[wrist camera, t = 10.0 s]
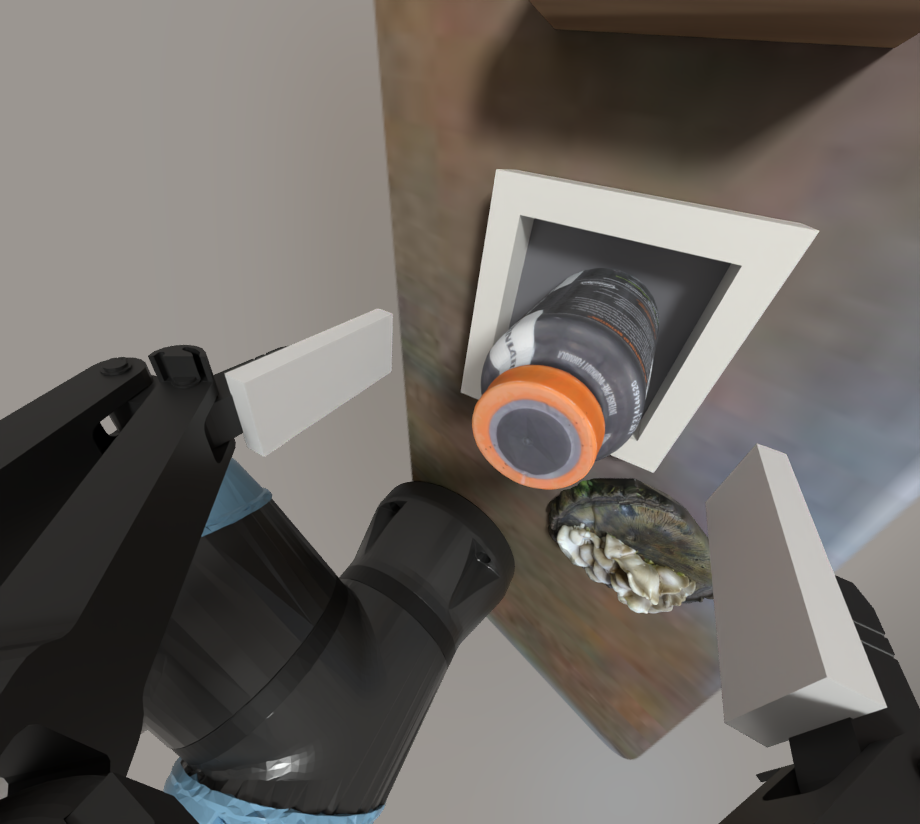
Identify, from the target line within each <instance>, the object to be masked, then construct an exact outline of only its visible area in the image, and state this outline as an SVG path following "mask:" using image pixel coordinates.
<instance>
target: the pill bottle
mask: <svg viewBox="0 0 920 824" xmlns="http://www.w3.org/2000/svg"><path fill="white" fill-rule="evenodd" d="M658 331H659V313H658V309H657V306H656V302H655V300H654V297H653V296H652V294H651V293H650V291H649V290H648V289H647V288H646V286H645V285H644V284H643V283H642V282H640V281H639V280H638V279H637V278H636V277H634V276H633V275H630V274H627V273H625V272H622V271H620V270H616V269H609V268H593V269H587V270H584V271H581V272H579V273H576V274H574V275H572V276H570V277H569V278H567V279H565V280H564V281H563V282H561V283H560V284H559V285H558V286H557V287H556V288H555V289H553V290H552V291H551V292H550V293H549V294H548V295H547V296H546V297H544V298H543V299H542V300H541V301H540V302H539V303H538V304H536V305H535V306H534V307H533V308H532V309H531V310H530V311H528V313H526V314H525V315H524V316H523V317H522V318H521V319H520V320H518V321H517V322H516V323H515V324H514V325H513V326H512V327H511V328H510V329H509V330H508V331H507V332H506V333H505V334H503V335H502V336H501V337H500V338H499V339H498V341H497V342H496V343H495V344H494V346H493V347H492V348H491V350H490V351H489V353H488V355H487V357H486V360H485V362H484V365H483V369H482V375H481V395H482V396H481V397H480V399H479V400H478V402H477V403H476V406H475V408H474V413H473V416H472V429H473V434H474V438H475V441H476V443H477V446H478V447H479V449H480V451H481V453H482V454H483V456H484V457H485V458H486V459H487V461H488V462H489V463H490V464H491V465H492V466H493V467H494V468H495V469H497V470H498V471H499V472H500V473H501V474H503V475H505V476H506V477H508V478H509V479H511V480H513V481H515V482H517V483H519V484H522V485H525V486H528V487H532V488H538V489H559V488H564V487H567V486H570V485H572V484H574V483H576V482H578V481H579V480H580V479H582V478H584V477H585V476H586V475H587V473H588V472H589V471H590V469H591V468H592V466H593V464H594V462H595V461H598V460H601V459H603V458H605V457H607V456H609V455H610V454H612V453H614V452H615V451H617V450H618V449H619V448H620V447H622V446H623V445H624V444H625V443H626V442H627V441H628V440H629V438H630V437H631V436H632V434H633V433H634V431H635V430H636V428H637V426H638V424H639V422H640V420H641V417H642V414H643V410H644V406H645V399H646V395H647V391H648V388H649V383H650V378H651V371H652V365H653V360H654V354H655V350H656V343H657V338H658Z"/></svg>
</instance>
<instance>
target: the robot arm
mask: <svg viewBox="0 0 920 824" xmlns="http://www.w3.org/2000/svg"><path fill="white" fill-rule="evenodd" d="M392 331H393V314H392V313H389V312H387V311H384V310H381V309H375V310H373V311H370V312H368V313H365V314H363V315H361V316H358V317H356V318H354V319H351V320H349V321H347V322H344V323H342V324H340V325H337V326H335V327H333V328H330V329H328V330H326V331H323V332H321V333H318V334H316V335H314V336H311V337H309V338H307V339H304V340H302V341H300V342H298V343H295V344H293V345H290V346H285V347H280V348H277V349H275V350H273V351H270V352H268V353H266V355H261V356H258V357H256V358H255V360H254V359H251V360H249V361H246V362H244V363H242V364H239V365H237V366H234V367H232V368H230V369H227V370H225V371H223V372H220V373H218V374H215V375H213V373H212V370H211V367H210V364H209V361H208V358H207V355H206V352H205V351H204V350H203V349H202V348H200V347H197V346H191V345H176V346H170V347H165V348H162V349H159V350H157V351H154V352H153V353H151V354H150V355H149V356H148V357H149V359H150V361H151V364H152V366H153V368H154V371H155V373H156V375H157V376H153V375H151V374H150V372H149V370H148V367H147V365H146V363H145V362H144V361H142V360H141V359H137V358H125V357H119V358H112V359H109V360H106V361H103V362H100V363H98V364H95V365H93V366H91V367H90V368H88V369H86V370H85V371H83V372H81V373H79V374H78V375H76V376H75V377H73V378H71V379H69V380H68V381H66V382H64V383H63V384H61V385H59V386H57V387H56V388H54V389H52V390H51V391H49V392H48V393H46V394H44V395H42V396H40V397H39V398H37V399H35V400H34V401H32V402H30V403H29V404H27V405H25V406H23V407H22V408H20V409H18V410H17V411H15V412H13V413H12V414H10V415H8V416H7V417H5V418H3V419H2V420H0V824H373V822H374V820H375V819H377V818H378V816H380V814H381V812H382V810H383V809H384V807H385V803H386V800H387V797H388V795H389V793H390V791H391V789H392V787H393V784H394V782H395V780H396V778H397V776H398V774H399V771H400V769H401V767H402V765H403V763H404V761H405V759H406V757H407V754H408V752H409V750H410V748H411V746H412V744H413V742H414V740H415V737H416V735H417V733H418V731H419V729H420V727H421V725H422V722H423V720H424V718H425V716H426V714H427V712H428V710H429V707H430V705H431V703H432V701H433V699H434V697H435V694H436V693H437V690H438V688H439V686H440V683H441V682H442V680H443V678H444V675H445V673H446V671H447V669H448V667H449V665H450V663H451V661H452V658H453V656H454V654H455V652H456V650H457V648H458V647H459V645H460V644H461V642H462V641H463V640H464V639H465V638H466V637H467V636H468V635H469V634H470V633H471V632H472V631H473V630H474V629H475V628H476V627H477V625H479V623H480V622H481V621H482V620H483V619H484V618H485V617H486V616H487V615H488V614H489V613H490V612H491V611H492V610H493V609H494V608H495V607H496V606H497V605H498V604H499V602H500V601H501V600H502V599H503V597H504V595H505V593H506V591H507V589H508V587H509V585H510V582H511V580H512V578H513V575H514V569H515V565H514V558H513V554H512V551H511V549H510V547H509V545H508V543H507V541H506V539H505V537H504V536H503V534H502V533H501V532H500V530H499V529H498V528H497V527H496V525H495V524H494V523H493V522H492V521H491V520H490V519H489V518H488V517H487V516H486V515H485V514H484V513H483V512H482V511H481V510H480V509H478V508H477V507H476V506H475V505H473V504H472V503H471V502H469V501H468V500H466V499H465V498H463V497H461V496H460V495H458V494H456V493H454V492H452V491H450V490H448V489H446V488H443V487H440V486H437V485H434V484H430V483H425V482H407V483H403V484H400V485H398V486H397V487H395V488H394V489H393V490H392V491H391V492H390V493H389V494H388V495H387V496H386V498H385V499H384V500H383V501H382V502H381V503H380V505H379V507H378V508H377V510H376V513H375V514H374V516H373V519H372V521H371V523H370V525H369V528H368V530H367V532H366V534H365V536H364V539H363V541H362V543H361V545H360V548H359V550H358V552H357V554H356V557H355V559H354V560H353V562H352V563H351V564H350V566H349V567H348V568H347V569H346V570H345V572H344V573H343V574H342V575H341V577H339V578H338V576H337V575H336V574H335V573H334V572H333V570H332V569H331V568H330V567H329V566H328V565H327V563H326V562H325V561H324V560H323V559H322V557H321V556H320V555H319V554H318V553H317V551H316V550H315V549H314V548H313V547H312V546H311V545H310V543H309V542H308V541H307V540H306V539H305V537H304V536H303V535H302V534H301V533H300V531H299V530H298V529H297V528H296V527H295V526H294V524H293V523H292V522H291V521H290V520H289V518H287V516H286V515H285V514H284V512H283V511H282V510H281V509H280V508H279V507H278V505H277V504H276V503H275V502H274V501H273V499H272V494H271V492H270V491H269V490H268V489H266V488H262V487H261V486H260V485H259V484H258V483H257V482H256V481H255V480H254V479H253V478H252V477H251V476H250V475H249V474H248V473H247V471H246V470H244V468H243V467H242V466H241V465H240V464H239V463H238V462H237V461H236V460H234V459H233V458H232V455H233V452H234V449H235V443H236V442H235V439H234V438H235V437H237V436H238V435H240V434H242V433H243V435H244V438H245V442H246V445H247V447H248V448H250V449H251V450H253V451H255V452H257V453H258V454H260V455H262V456H263V457H265V456H266V455H268V454H269V453H271V452H273V451H274V450H275V449H277V448H278V447H280V446H281V445H283V444H284V443H286V442H287V441H289V440H290V439H292V438H293V437H295V436H296V435H298V434H299V433H301V432H302V431H304V430H305V429H307V428H308V427H310V426H311V425H313V424H314V423H316V422H317V421H319V420H320V419H322V418H323V417H325V416H326V415H328V414H329V413H331V412H332V411H334V410H335V409H337V408H338V407H340V406H341V405H343V404H344V403H346V402H347V401H349V400H350V399H351V398H353V397H355V396H356V395H358V394H359V393H361V392H362V391H364V390H365V389H367V388H368V387H370V386H371V385H373V384H374V383H376V382H377V381H379V380H380V379H382V378H383V377H385V376H386V375H388V374H389V373H391V372H392V334H393V333H392ZM108 415H109V416H110V418H111V420H112V421H113V423H114V425H115V426H116V428H117V430H116V431H115V432H114V433H112V434H110V435H108V434H107V433H106V432H105V430H104V428H103V427H102V425H101V424H100V421H102V420H103V419H104V418H106V417H107V416H108ZM705 504H706V516H707V527H708V539H709V550H710V562H711V573H712V585H713V596H714V608H715V619H716V631H717V642H718V653H719V665H720V676H721V688H722V699H723V710H724V722H725V723H726V724H727V725H729V726H731V727H733V728H734V729H736V730H738V731H739V732H741V733H743V734H745V735H746V736H748V737H750V738H752V739H753V740H755V741H757V742H759V743H760V744H762V745H764V746H766V747H770V746H773V745H776V744H779V743H782V742H785V741H788V740H789V742H790V747H791V752H792V757H793V762H794V764H792V765H789V766H785V767H781V768H778V769H774V770H770V771H766V772H763V773H760V774H757V775H756V776H757V777H758V779H759V780H760V781H761V782H764V781H766V782H765V783H764V784H763V785H762V786H761V787H760V788H758V789H757V790H756V791H755V792H754V793H753V794H752V795H750V796H749V797H748V798H747V799H746V800H745V801H744V802H743V803H741V804H740V805H739V806H738V807H737V808H736V809H735V810H734V811H732V812H731V813H730V814H729V815H728V816H727V817H726V818H724V819H723V820H722V821H721V822H720V823H719V824H920V708H919V706H918V704H917V702H916V700H915V697H914V695H913V693H912V691H911V689H910V687H909V684H908V682H907V680H906V678H905V676H904V674H903V671H902V669H901V667H900V665H899V662H898V661H897V660H896V659H894V655H895V654H894V652H893V649H892V647H891V645H890V643H889V641H888V639H887V638H885V637H884V634H885V632H884V630H883V628H882V626H881V623H880V621H879V619H878V617H877V615H876V612H875V610H874V608H873V607H872V606H871V605H870V603H869V602H868V601H867V600H866V598H865V597H864V596H863V595H862V594H861V592H860V591H859V590H858V589H857V587H856V586H855V585H854V584H853V583H852V582H849V581H847V580H845V579H842V578H840V577H838V576H836V575H834V572H833V570H832V567H831V565H830V562H829V560H828V557H827V555H826V552H825V550H824V547H823V545H822V542H821V540H820V537H819V535H818V532H817V530H816V527H815V525H814V522H813V520H812V517H811V515H810V512H809V510H808V507H807V505H806V502H805V500H804V497H803V495H802V492H801V490H800V487H799V485H798V482H797V480H796V477H795V475H794V472H793V470H792V467H791V465H790V462H789V460H788V457H787V455H786V454H785V453H782V452H779V451H776V450H773V449H771V448H768V447H765V446H762V445H759V444H756V445H755V446H754V447H753V448H752V449H751V451H750V452H749V453H748V454H747V455H746V456H745V457H744V459H743V460H742V461H741V462H740V463H739V464H738V466H737V467H736V468H735V469H734V470H733V471H732V472H731V474H730V475H729V476H728V477H727V478H726V479H725V480H724V482H723V483H722V484H721V485H720V486H719V487H718V489H717V490H716V491H715V492H714V493H713V494H712V495H711V497H710V498H709V499H708V500H707V501H706V502H705ZM146 730H149V731H150V732H151V733H152V734H153V735H155V736H156V737H157V738H158V739H159V740H160V741H161V742H163V743H164V744H165V745H166V746H167V747H169V748H171V749H172V750H173V751H174V752H175V753H177V754H178V755H179V756H180V757H179V758H178V759H177V761H176V762H175V764H174V766H173V768H172V771H171V774H170V775H169V777H168V778H167V780H166V783H165V786H164V792H163V791H160V790H158V789H155V788H152V787H150V786H147V785H145V784H142V783H140V782H137V781H135V780H132V779H129V778H127V777H126V775H127V772H128V770H129V767H130V764H131V761H132V758H133V755H134V753H135V750H136V747H137V744H138V741H139V738H140V734H142V733H143V732H144V731H146Z"/></svg>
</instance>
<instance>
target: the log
mask: <svg viewBox="0 0 920 824" xmlns="http://www.w3.org/2000/svg"><path fill="white" fill-rule="evenodd" d="M550 506H551V512H550V513H549V521H550V525H549V531H550V535H551V537H552V539H553V540H554V541H555V542H558V544H559V547H560V548H561V551H562V552H564V554H565V555H566V556H567V557H568V558H569V559H570V560H571V563H572V564H574V565H577V566H581V567H582V568H584V569H585V571H586V573H587V575H588V576H589V578H590V579H591V580H593V581H595V582H603V583H605V584H606V585H607V586H608V587H609V588H613V589H614V590H615V591H616V592H617V594H618V599H619V601H620V602H622V603H624V604H627V605H628V607H629V608H630V609H631V610H633V611H634V612H637V613H641V612H643V613H646V614H647V613H648V612H649V613H659V612H662V611H665V612H669V611H671V610H672V608H673V605H676V606H680V605H681V603H692V602H697V601H698V602H702V601H703V599H704V597H705V598H707V599H714V596H713V585H712V573H711V562H710V550H709V539H708V537H707V536H706V535H705V533H704V532H703V531H702V529H701V528H700V527H699V525H698V524H697V523H696V521H695V520H694V519H693V517H692V516H691V515H690V513H689V512H688V511H687V510H686V509H685V508H684V507H683V506H682V505H680V504H679V503H678V502H677V501H675V500H674V499H673V498H671V497H670V496H669V495H667V494H665V493H663V492H661V491H659V490H657V489H655V488H653V487H651V486H649V485H646V484H644V483H642V482H640V481H638V480H636V479H610V478H598V479H591V480H587V481H582V482H580V483H579V484H578V485H577V486H575V487H573V488H571V489H567V490H563V491H561V494H560V497H556V499H554V500H552V501H551V502H550Z"/></svg>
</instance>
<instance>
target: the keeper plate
mask: <svg viewBox="0 0 920 824" xmlns="http://www.w3.org/2000/svg"><path fill="white" fill-rule="evenodd" d="M818 232H819V231H818V230H816V229H814V228H811V227H809V226H807V225H804V224H802V223H797V222H792V221H786V220H781V219H776V218H770V217H765V216H760V215H754V214H749V213H744V212H738V211H733V210H728V209H722V208H717V207H712V206H707V205H701V204H696V203H691V202H685V201H680V200H675V199H669V198H664V197H659V196H653V195H648V194H643V193H637V192H632V191H627V190H621V189H616V188H611V187H606V186H600V185H595V184H590V183H584V182H579V181H574V180H568V179H563V178H558V177H552V176H547V175H542V174H536V173H531V172H526V171H520V170H507V169H496V175H495V181H494V187H493V193H492V200H491V206H490V212H489V218H488V225H487V231H486V237H485V243H484V250H483V256H482V262H481V268H480V274H479V281H478V287H477V293H476V299H475V306H474V312H473V318H472V324H471V331H470V337H469V343H468V349H467V356H466V362H465V368H464V374H463V380H462V387H461V393H464V394H466V395H468V396H471V397H473V398H476V399H478V400H479V399H480V397H481V396H482V395H481V375H482V369H483V365H484V362H485V360H486V357H487V355H488V353H489V351H490V350H491V348H492V347H493V346H494V344H495V343H496V342H497V341H498V339H499V338H500V337H501V336H502V335H503V334H505V333H506V332H507V331H508V330H509V329H510V328H511V327H512V326H513V325H514V324H515V323H516V322H517V321H518V320H520V319H521V318H522V317H523V316H524V315H525V314H526V313H528V311H530V310H531V309H532V308H533V307H534V306H535V305H536V304H538V303H539V302H540V301H541V300H542V299H543V298H544V297H546V296H547V295H548V294H549V293H550V292H551V291H552V290H553V289H555V288H556V287H557V286H558V285H559V284H560V283H561V282H563V281H564V280H565V279H567V278H569V277H570V276H572V275H574V274H576V273H579V272H581V271H584V270H587V269H593V268H609V269H616V270H620V271H622V272H625V273H627V274H630V275H633V276H634V277H636V278H637V279H638V280H639V281H640V282H642V283H643V284H644V285H645V286H646V288H647V289H648V290H649V291H650V293H651V294H652V296H653V297H654V300H655V302H656V306H657V309H658V313H659V331H658V338H657V343H656V350H655V354H654V360H653V365H652V371H651V378H650V383H649V388H648V391H647V395H646V399H645V406H644V410H643V414H642V417H641V420H640V422H639V424H638V426H637V428H636V430H635V431H634V433H633V434H632V436H631V437H630V438H629V440H628V441H627V442H626V443H625V444H624V445H623V446H622V447H620V448H619V449H618V450H617V451H615V452H614V453H612V454H610V455H612V456H614V457H617V458H619V459H622V460H624V461H626V462H629V463H631V464H634V465H636V466H638V467H641V468H643V469H646V470H648V471H650V472H653V473H654V472H655V470H656V469H657V467H658V466H659V464H660V463H661V461H662V460H663V459H664V457H665V456H666V454H667V453H668V451H669V450H670V448H671V447H672V445H673V444H674V443H675V441H676V440H677V438H678V437H679V435H680V434H681V432H682V431H683V429H684V428H685V426H686V425H687V424H688V422H689V421H690V419H691V418H692V416H693V415H694V413H695V412H696V410H697V409H698V407H699V406H700V405H701V403H702V402H703V400H704V399H705V397H706V396H707V394H708V393H709V391H710V390H711V389H712V387H713V386H714V384H715V383H716V381H717V380H718V378H719V377H720V375H721V374H722V372H723V371H724V370H725V368H726V367H727V365H728V364H729V362H730V361H731V359H732V358H733V356H734V355H735V354H736V352H737V351H738V349H739V348H740V346H741V345H742V343H743V342H744V340H745V339H746V337H747V336H748V335H749V333H750V332H751V330H752V329H753V327H754V326H755V324H756V323H757V321H758V320H759V318H760V317H761V316H762V314H763V313H764V311H765V310H766V308H767V307H768V305H769V304H770V302H771V301H772V300H773V298H774V297H775V295H776V294H777V292H778V291H779V289H780V288H781V286H782V285H783V283H784V282H785V281H786V279H787V278H788V276H789V275H790V273H791V272H792V270H793V269H794V267H795V266H796V264H797V263H798V262H799V260H800V259H801V257H802V256H803V254H804V253H805V251H806V250H807V248H808V247H809V246H810V244H811V243H812V241H813V240H814V238H815V237H816V235H817V234H818Z"/></svg>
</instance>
